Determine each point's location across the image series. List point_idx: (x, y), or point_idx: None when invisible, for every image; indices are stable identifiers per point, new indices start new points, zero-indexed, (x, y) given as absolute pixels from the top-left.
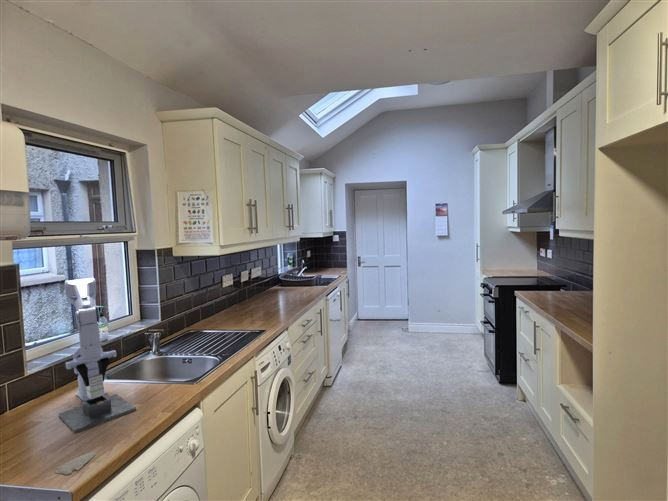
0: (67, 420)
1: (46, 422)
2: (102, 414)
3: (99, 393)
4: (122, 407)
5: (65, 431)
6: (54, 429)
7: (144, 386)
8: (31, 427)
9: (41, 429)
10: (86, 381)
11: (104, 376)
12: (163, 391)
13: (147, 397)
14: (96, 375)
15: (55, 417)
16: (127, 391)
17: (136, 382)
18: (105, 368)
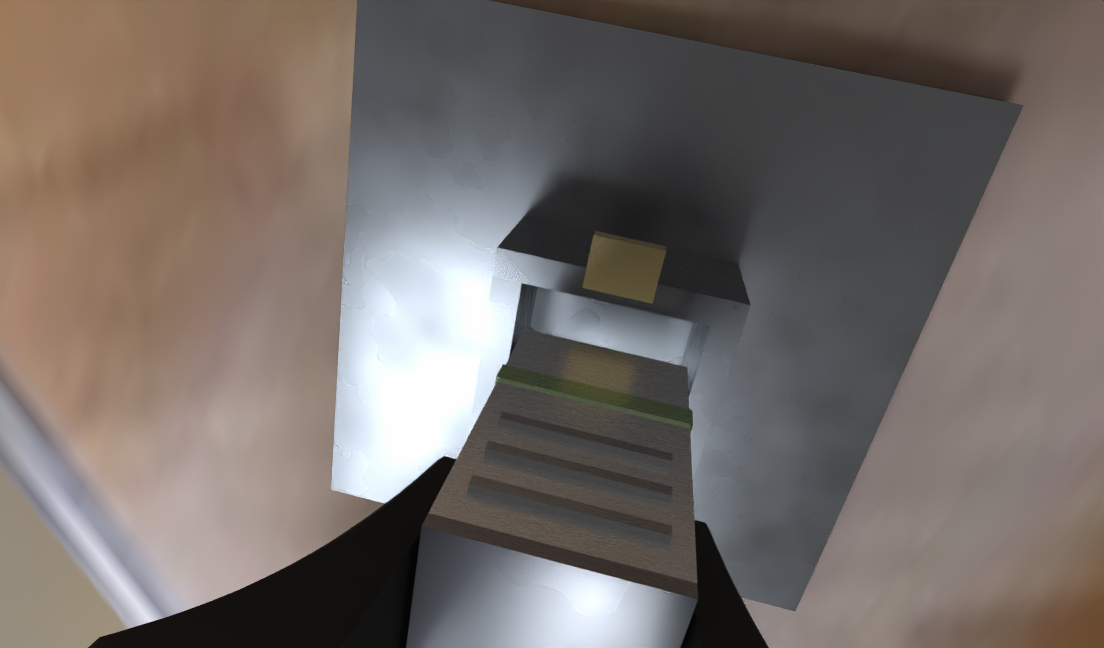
0: (870, 406)
1: (908, 583)
2: (640, 185)
3: (573, 361)
4: (440, 137)
5: (996, 248)
6: (992, 395)
7: (106, 431)
8: (1017, 613)
9: (1025, 505)
10: (724, 578)
11: (399, 495)
12: (14, 148)
13: (171, 177)
14: (537, 559)
15: (815, 596)
16: (240, 480)
17: (126, 560)
18: (291, 587)
